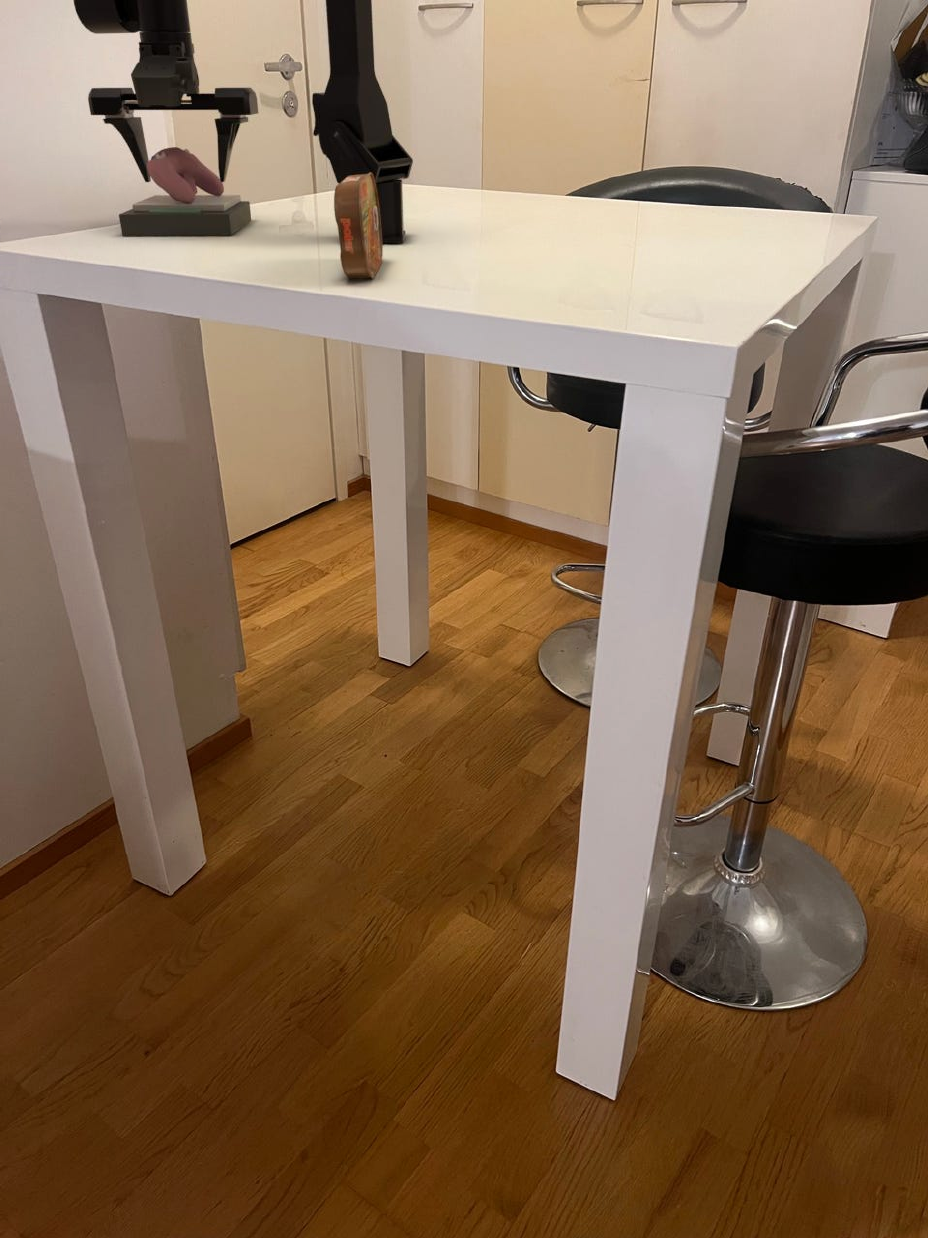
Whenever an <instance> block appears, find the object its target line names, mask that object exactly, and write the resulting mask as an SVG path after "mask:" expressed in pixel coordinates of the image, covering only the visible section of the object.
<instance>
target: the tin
mask: <svg viewBox="0 0 928 1238" xmlns="http://www.w3.org/2000/svg"><path fill="white" fill-rule="evenodd" d="M333 209H334V210H333V211H334V218H335V222H336V225H337V231H338V233H337V234H338V240H339V248H340V249H339V250H340V263H341V268H342V271H343V274H344V275H345V277H346V278H347V279H364V278H370V279H374V278H375V277H376V276H377V275H376V274H377V273H378V271H379V269H380V266H381V265H382V262H383V256H384V255H383V251H384V249H383V242H382V230H381V217H380V208H379V200H378V193H377V188H376V183H375V179H374V176H373V174H372V173H371V172H370V173H369V174H362V175H351V176H348V177H346V178H345V179H344V180H343V181H342V182H340V183H337V185H336V186H335V188H334V193H333Z"/></svg>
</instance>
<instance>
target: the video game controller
mask: <svg viewBox="0 0 928 1238" xmlns="http://www.w3.org/2000/svg"><path fill="white" fill-rule="evenodd" d="M148 160H149V161H148V163H147V169H148V172H149V174H150V177H151V180H152V181H153V182H154V184H155V185H156V186H158V188H160V189H161V190H163V191H164V192H165V193H166V194H167V195H170V196H171V197H172V198H173V199H174V200H176V201H180V202H182V203H186V204H190V203H192V202H193V201H194V199H195V195H198V188H199V189H200V190H202V191H203V192H205V193H207V194H208V195H215V196H221V195H224V191H225V187H224V186H225V185H224V182H221V181H220V176H218V175H217V174H216V173H215V172H213V171H212V170H210V169H209V168H208V167H207V166H206V165H204V163H203V162H201V160H200V159H199V158H198V157H197V156H196V155H195V154H194V153H191V152H190V150H189V149H188V148H184V149H182V148H180V147H177V146H171V147H166V148H163V149H161V150H159V151H157V152H156V153H154V154H153V155H152V156H151V157H150V159H148Z"/></svg>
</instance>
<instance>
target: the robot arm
mask: <svg viewBox="0 0 928 1238" xmlns="http://www.w3.org/2000/svg"><path fill="white" fill-rule="evenodd" d="M372 1H373V0H325V11H326V29H327V42H328V59H329V77H328V80H327V83H326V86H325V90H324V92H313V93H312V96H311V97H312V98H311V104H312V108H313V113H314V128H313V133H312V134H313V137H318V142H319V148H320V150H321V152H322V154H323V155H324V156H325V157H326V158H327V159H328V160H329V163H330V166H331V169H332V171H333V174H334V177H335V180H336V182H337V184H339V183H340V182H342V181H343V180H344V179H345V178H346V177H348V176H351V175H362V174H369V173H370V172H371V173H372V174H373V176H374V179H375V183H376V188H377V193H378V200H379V208H380V217H381V230H382V243H404V240H405V238H406V230H405V229H404V228H405V227H404V225H405V224H404V198H403V197H404V196H403V195H404V191H403V180H406V179H409V177H410V174H411V171H412V167H413V163H414V160H413V158H412V157H411V155H410V154H409V153H408V152H407V150H406V149H405V148H404V147H403V146H402V145H401V143H400V142H399V140H398V139H397V138H396V137H395V136H394V135H393V130H392V123H391V118H390V113H389V112H390V111H389V107H388V102H387V100H386V98H385V94H384V92H383V90H382V88H381V86H380V83H379V81H378V78H377V75H376V70H375V52H374V51H375V50H374V49H375V47H374V27H373V26H374V25H373V24H374V23H373V6H372ZM73 6H74V10H75V13H76V16H77V17H78V19H79V21H80V23H81V24H82V26H83V27H84V28H85V29H86V30H87V31H89V32H90V33H93V34H95V35H97V34H98V35H99V34H135V33H138V32H139V39H140V41H139V42H138V52H139V60H138V62H137V63H136V64H135V66H134V68H133V69H132V71H131V73H130V77H131V81H132V85H133V87H92V88H91V89H90V91H89V93H88V96H87V102H88V107H89V113H90V116H104V118H102V121H103V123H104V124H106V125H112V126H113V128H115V130H116V131H117V132H118V133H119V134H120V136H121V137H122V139H123V141H124V142H125V144H126V146H127V147H128V149H129V151H130V153H131V155H132V157H133V159H134V161H135V163H136V165H137V168H138V170H139V172H140V174H141V176H142V178H143V180H144V182H145V183H151V181H152V178H151V176H150V174H149V172H148V169H147V163H148V161H149V160H150V159H149V155H148V149H147V144H146V138H145V132H144V127H143V121H142V117H141V116H135V115H134V114H135V111H218V114H219V115H220V116H219V117H218V118H214V123H215V124H214V125H215V128H216V135H217V136H216V137H217V162H218V164H217V165H218V166H217V167H218V174H219V179H220V181H221V182H222V183H226V180H227V175H228V171H229V166H230V162H231V158H232V157H231V156H232V151H233V148H234V144H235V141H236V138H237V135H238V133H239V130H240V127H241V124H244V123H248V122H249V117H248V116H253V115H258V114H259V107H258V106H259V103H258V96H257V93H256V92H255V90H254V89H253V88H252V87H215V88H214V93H212V92H211V93H209V92H208V93H206V92H205V93H201V92H200V77H199V73H198V69H197V65H196V62H195V56H194V55H195V45H194V43H193V40H192V33H191V23H190V15H189V7H188V1H187V0H73ZM133 89H134V90H133ZM185 95H186V98H190V99H183V97H184V96H185Z"/></svg>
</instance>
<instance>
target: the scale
mask: <svg viewBox="0 0 928 1238" xmlns="http://www.w3.org/2000/svg"><path fill="white" fill-rule="evenodd" d="M131 207H132V208H131V209H129V210H126V211H124V212H121V213H120V214H118V219H119V224H120V230H121V236H122V237H231V236H233V235H234V234H235V233H237V232H239V231H240V230H242V229H243V228H244V227H246V226H247V225H248V224H249V223H251V222H252V212H251V203H250V201H249V200H248V201H247V200H243V201H242V199H241V195H240V194H222V195H221V196H215V195H212V194H195V199H194V201H193V202H192V203H190V204H186V203H182V202H180V201H176V200H174V199H173V198H172V197H171V196H170V195H169V194H163V195H162V194H155V195H152V196H149V197H147V198H145V199H142V200H140V201H137V202H135V203H133V204H132V205H131Z"/></svg>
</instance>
